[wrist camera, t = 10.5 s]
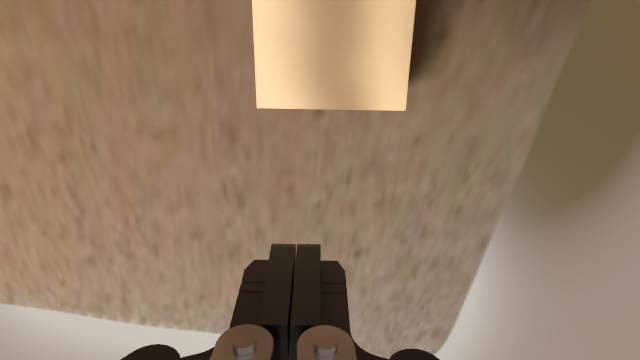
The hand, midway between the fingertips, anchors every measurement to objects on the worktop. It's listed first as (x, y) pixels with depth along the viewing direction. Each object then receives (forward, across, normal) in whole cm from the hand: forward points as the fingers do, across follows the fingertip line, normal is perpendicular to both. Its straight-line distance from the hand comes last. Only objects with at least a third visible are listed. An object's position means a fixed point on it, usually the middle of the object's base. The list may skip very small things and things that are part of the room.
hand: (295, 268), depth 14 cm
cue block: (+16, -1, -5) cm, 17 cm away
